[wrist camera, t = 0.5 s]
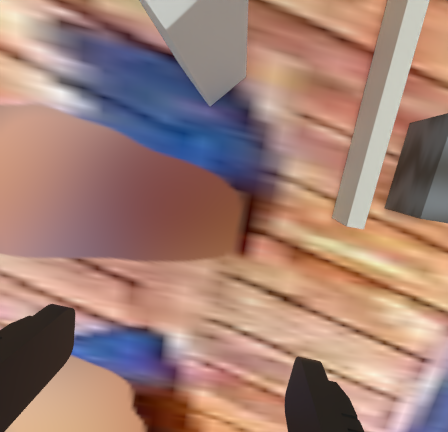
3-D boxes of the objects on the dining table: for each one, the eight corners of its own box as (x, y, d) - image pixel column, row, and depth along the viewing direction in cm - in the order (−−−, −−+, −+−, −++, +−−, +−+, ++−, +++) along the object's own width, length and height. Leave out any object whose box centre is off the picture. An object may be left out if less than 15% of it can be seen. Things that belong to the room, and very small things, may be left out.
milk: (246, 76, 31) (257, -116, 10) (209, 107, 32) (145, -5, 11) (217, 35, 31) (161, -272, 9) (180, 68, 32) (51, -137, 10)
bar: (409, 123, 31) (456, 111, 24) (449, 129, 31) (508, 118, 24) (384, 207, 33) (420, 218, 27) (421, 214, 33) (467, 226, 26)
